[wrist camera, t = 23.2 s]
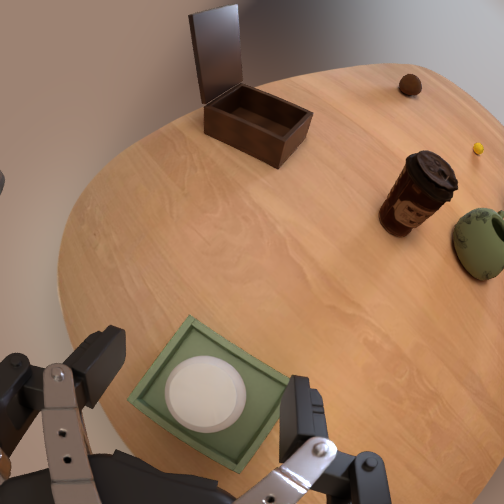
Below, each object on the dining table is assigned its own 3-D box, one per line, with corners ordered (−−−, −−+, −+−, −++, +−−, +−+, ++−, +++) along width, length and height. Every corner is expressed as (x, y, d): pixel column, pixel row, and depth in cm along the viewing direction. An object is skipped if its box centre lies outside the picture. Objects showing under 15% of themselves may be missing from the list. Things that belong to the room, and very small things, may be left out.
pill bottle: (207, 433, 25) (200, 458, 15) (166, 389, 27) (136, 387, 17) (252, 395, 28) (271, 398, 17) (211, 352, 29) (206, 330, 19)
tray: (133, 399, 26) (126, 399, 24) (191, 320, 31) (189, 314, 29) (237, 467, 24) (239, 474, 22) (293, 384, 29) (300, 384, 27)
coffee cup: (421, 246, 40) (470, 199, 28) (380, 244, 39) (428, 190, 28) (406, 202, 44) (445, 151, 32) (367, 197, 43) (403, 139, 32)
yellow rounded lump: (472, 152, 58) (475, 141, 56) (471, 149, 62) (474, 139, 60) (482, 157, 57) (485, 146, 54) (480, 154, 60) (483, 143, 58)
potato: (419, 95, 69) (428, 79, 62) (414, 103, 64) (423, 85, 58) (401, 83, 70) (409, 67, 64) (393, 90, 66) (402, 72, 60)
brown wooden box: (305, 137, 48) (313, 112, 43) (278, 169, 43) (285, 141, 38) (238, 107, 50) (240, 82, 45) (203, 133, 46) (203, 106, 41)
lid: (237, 3, 32) (233, 3, 32) (192, 14, 27) (187, 15, 27) (243, 81, 45) (239, 80, 45) (205, 104, 40) (201, 103, 40)
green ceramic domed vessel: (481, 299, 37) (515, 278, 29) (439, 244, 41) (469, 216, 33) (499, 251, 42) (525, 230, 35) (463, 206, 46) (487, 181, 39)
